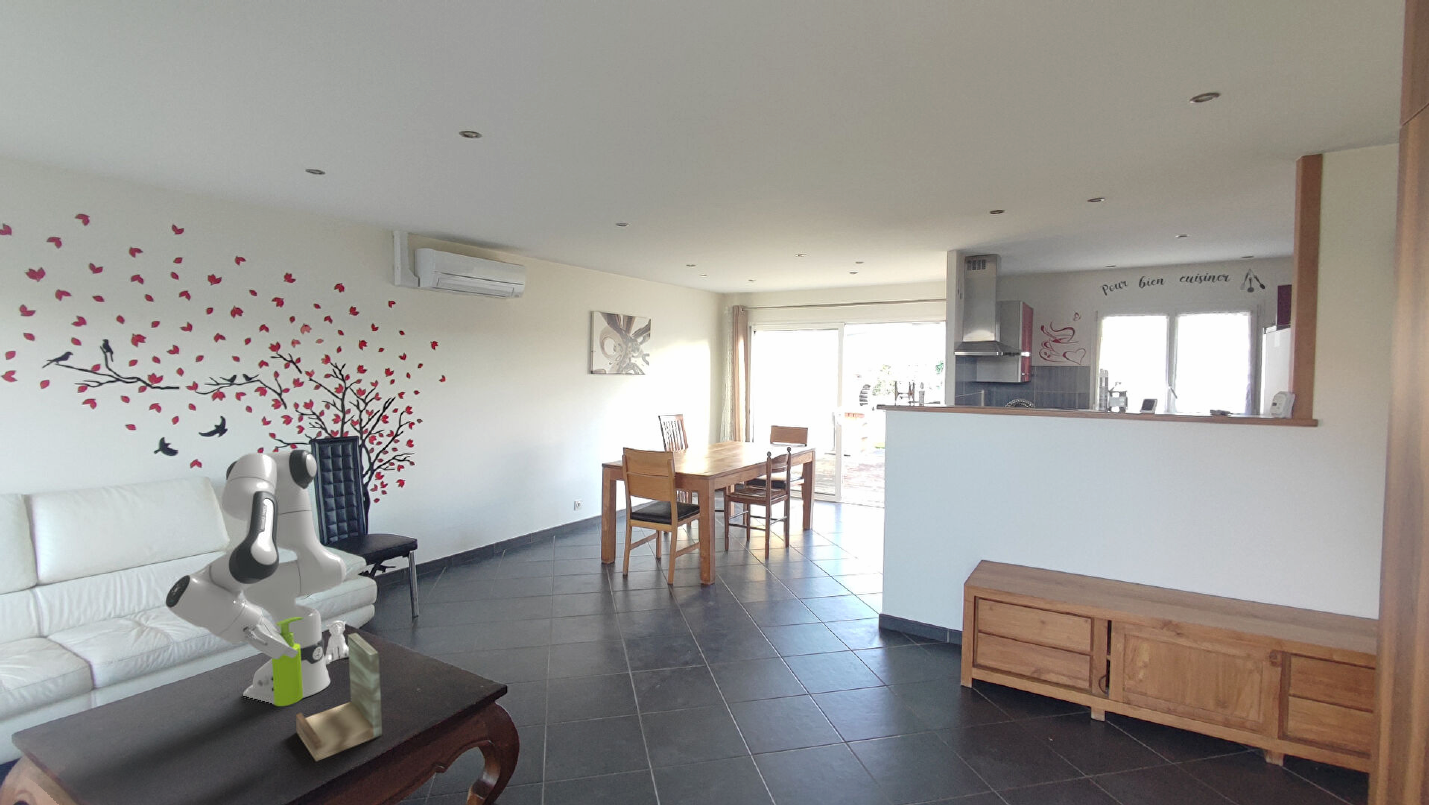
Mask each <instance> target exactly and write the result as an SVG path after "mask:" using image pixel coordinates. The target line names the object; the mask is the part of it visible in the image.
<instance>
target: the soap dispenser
mask: <svg viewBox="0 0 1429 805" xmlns="http://www.w3.org/2000/svg"><path fill="white" fill-rule="evenodd" d="M302 619H303V618H302V617H292V618H288V619H285V620H283V621H280V622H278V623H276V625H277V626H280V627H281V633H280V635H281V636H282V637H283V639H284V640H285V641H286V643H287V644H288V645H289V646H290V647H293V648H294V649H296V650H297V651H298V653H297V655H296V656H295V657H294V658H291V657H289V656H287V655H282V656H281V657H280V658H279V659H274V658H272V657H271V659H272V670H273V687H274V704H275V705H274V704H273V705H274V706H276V707H286V706H289V705H293V704H296V703H298V702H299V701H301V700H302V699H304V698H303V687H302V669H301V651H300V644H295V643H294V635H293V632H290V631H289V623H291V622H294V621H297V620H302Z"/></svg>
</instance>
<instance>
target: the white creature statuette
mask: <svg viewBox="0 0 1429 805" xmlns="http://www.w3.org/2000/svg"><path fill="white" fill-rule="evenodd" d="M346 622H347V620H345V621H342V620H335V621H332V622H331V623H330V624H325V626H326V627H327V628H328V630H329V633H330V635H331V636H330V637H328V643H327V647H326V651H325V654H324V659H325V664H326V666H328V665H329V664H331V663H332V662H335V661H338V660H341V659H344V658H349V649H348V644H346V639H345V636H344V634H343V633H344V631H345V630H346V628H345V626H346Z"/></svg>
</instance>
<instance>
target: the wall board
mask: <svg viewBox="0 0 1429 805" xmlns="http://www.w3.org/2000/svg"><path fill="white" fill-rule="evenodd" d="M347 646H348V649H349V656H348V666H349V684H350V686H349V688H350V701H349V702H347V703H344V704H341V705H338V706H335V707H332V708H330V709H327V710H324V711H322V712H318V713H315V714H312V715H310V716H308V717H305V715H303V713H302V712H300V713H298V714H295V722H296V724H295V725H296V733H297V735H298V734H299V735H298V737H299V738H300V740H301V741H302V742H303V744H304V746H305V747H306V749H307V750H308V752H309V753H310V754H311V756H312V757H313V759H314V761H315V762H319V761H320V760H323V759H326V758H328V757H331V756H333V755H336V754H338V753H341V752H343V751H345V750H348V749H351V748H353V747H356V746H358V745H360V744H361V745H362V743H366V742H368V741H370V740H373V739H375V738H378V737H381V736H382V735H383V726H382V701H381V700H382V699H381V698H382V696H381V680H380V678H381V677H380V660H379V659H380V658H379V656H380V655H379V652H378V651H377V650H376V649H375V648H374V647H373V646H372V645H371V644H370V643H368V642H367V641H366V640H365V639H364V638H362V637H361V635H359V634H358V633H357V632H354V633H353V632H352V633H350V634H347Z"/></svg>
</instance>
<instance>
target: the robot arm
mask: <svg viewBox="0 0 1429 805" xmlns="http://www.w3.org/2000/svg"><path fill="white" fill-rule="evenodd" d="M316 461H317V460H316V458H315V456H314V455H313V453H312V452H311V451H309V450H306V449H292V450H284V451H282V450H281V451H273V452H268V453H260V452H251V453H246V454H244V455H242V456H241V457H239V458H238V459H236V460H235V461H233V462H232V463H231V464H229V466H228V467H227V468H226V473H225V480H226V483H225V486H224V488H223V491H222V496H221V507H222V510H223V511H224V512H225V513H226V514H227V515H229V516H230V517H231V518H233V519H236V520H239V521H240V520H241V521H247V524H246V531H245V532H246V533H245V537H244V539H243V540H242V541H241V542H240V543H239V544H238V545H236V546H235V547H234V548H232V549H231V550H229V551H228V552H226V553H225V554H223V555H221V556H220V557H217V558H216V559H214V560H212V561H211V562H209V563H208V564H206V565H205V566H204V567H202V568H201V569H199V570H197V571H195V572H194V573H191V574H186V575H183V576H182V577H181V578H179V579H178V580H177V581H176V582H175V583H174V584H173V586H172V587H171V588H170V590H169V591H168V593H167V595H166V598H165V605H166V607H167V609H168V610H169V611H170V612H171V613H173V614H174V615H175V616H177V617H178V618H180V619H181V620H184V622H187V623H189V624H191V625H192V626H195V627H198V628H203V629H205V630H207V631H208V632H209V633H210V634H211V635H213V636H216V637H217V638H220V639H221V640H223V641H225V642H227V643H229V644H231V645H237V644H238V643H240V642H241V643H248V644H249V645H250V646H251V647H253V648H254V649H256V650H257V651H259V652H261V653H263V654H265V655H267V656H269V657H270V659H269V660H268V661H267V662H266V663H264V664H263V665H262V666H261V667H259V668H258V669H257V670H256V671H255V673H254V675H253V679H252V684H251V685H250V686H248V687H247V688H246V689H245V690H244V691H243V694H242V697H243V696H247V697H249V698H248V699H250V698H253V699H252V700H254V699H258V700H261V701H260V702H262V701H265V702H264V703H266V702H269V703H268V704H270V703H272V704H271V705H274V706H276V705H275V704H274V687H273V670H272V658H274V659H279V658H280V657H281V656H282V655H287V656H289V657H291V658H294V657H295V656H296V655H297V653H298V651H297V650H296V649H294V648H293V647H290V646H289V645H288V644H287V643H286V641H285V640H284V639H283V637H282V636H281V635H280V633H281V627H280V626H277V625H276V623H278V622H280V621H283V620H285V619H288V618H292V617H302V618H303V619H302V620H297V621H294V622H291V623H289V631H290V632H293V635H294V643H295V644H300V651H301V669H302V687H303V698H302V699H304V698H306V697H309V696H312V695H316V694H317V693H319V692H321V691H322V690H324V689H326V688H327V687H328V686H330V683H331V678H330V676H329V671H328V669H327V664H325V659H324V656H325V654H324V651H325V650H324V649H325V640H324V636H323V635H322V619H321V618H322V616H321V614H320V612H319V610H317V609H316V608H313V607H311V606H307V605H302V604H301V605H300V604H298V603H296V599H298V598H301V597H305V596H310V595H314V594H315V595H316V594H318V593H319V594H320V593H324V592H326V591H330V590H332V589H334V588H336V587H339V586H340V585H341V584H342V583H343V582H344V580H345V578H346V575H347V565H346V563H345V561H344V560H343V559H342V557H340V555H338V554H336V553H333V552H331V551H330V550H328V549H327V548H326V547H325V546H324V545H323V544H322V543H321V542H320V540H319V538H318V537H317V534H316V530H315V525H314V518H313V510H312V503H311V498H310V494H309V490H308V487H309V485H310V484H311V483H312V482H313V481H314V479H315V478H316V476H317V473H318V472H317V469H318V466H317V462H316ZM278 548H279V549H282V550H286V551H290V552H293V553H294V554H295V555H296V559H294V560H289V561H283V562H280V555H279V549H278ZM241 593H242V594H243V597H244V598H245V599H243V598H241V596H240V594H241ZM263 610H264V611H265V612H267V614H269V616H270V617H271V619H272V621H273V623H274V625H273V623H272V622H271V621H270V620H269V619H267V618H266V617H265V616H263ZM258 700H257V701H258Z"/></svg>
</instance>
